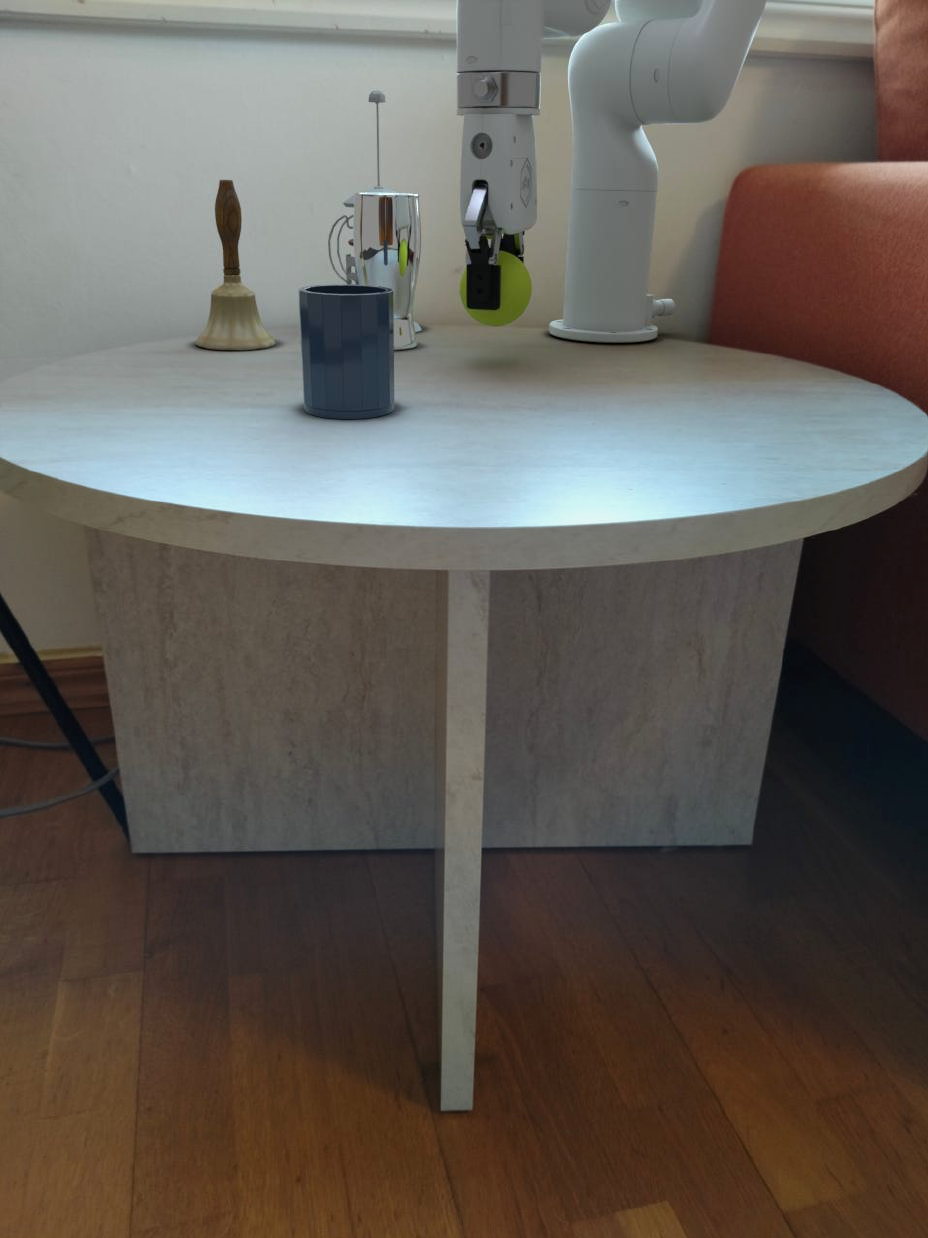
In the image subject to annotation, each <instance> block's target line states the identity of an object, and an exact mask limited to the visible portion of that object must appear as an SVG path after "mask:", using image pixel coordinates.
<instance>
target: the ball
mask: <svg viewBox="0 0 928 1238" xmlns="http://www.w3.org/2000/svg"><path fill="white" fill-rule="evenodd" d="M497 265H501V294H500V308H499V309H497V310H478V309H469V308H468V307H467V305H466V267H465V268H464V269H463V272H462V275H461V278H460V281H459V282H460V283H459V296H460V301H461V302H462V305H463V307H464V309H465V311H466V313H468V315H469V316H470V317H471V318H472V319H474V320H475V321H477V322H478V323H480V324H482V325H485V326H489V327H503V326H506V325H509V324H511V323H513V322H515V321H516V320H518V319H519V318H520V317H521V316H522V315H523V314H524V312H525V311H526V310H527V308H528V305H530V304H529V303H530V301H531V297H532V292H533V285H532V284H533V283H532V278H531V275H530V273H529V270H528V268H527V267H526V265H525V263H524V264H523V263H522V262H521V261H520V260H519V259H518V258H517V257H516V256H514V255H512V254H510V253H508V252H505V251H499V254H498V260H497Z"/></svg>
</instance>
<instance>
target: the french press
mask: <svg viewBox="0 0 928 1238" xmlns="http://www.w3.org/2000/svg"><path fill="white" fill-rule="evenodd" d="M368 102H369V103H374V104H375V105H376V155H377V156H376V163H377V164H376V165H377V166H376V167H377V169H376V170H377V185H376V186H375V185H374V186H373V188H368V189H364V190H360V191H357V193H398V191H394V190H391V189H387V188H384V187H383V186H382V185H381V184H380V183H381V182H380V125H379V123H380V122H379V118H380V117H379V116H380V115H379V104H381V103H386V102H387V101H386V95H385V93H384V92H383V91H382V90H379V89H375V90H372V91H371V92H370V93H369V95H368ZM342 205H343V206H344V207H345V208H352V209H354V194H353V195H351V196H350V197H349V198H347V199H346V200H344V201H343V202H342ZM353 217H354V214H351V215H349V217H348V216H347V215H346V214H343V215H342V216H340V217H339V218H337V219H336V221H334V223H333V225H332V226H331V229H330V231H329V234H328V239H327V240H328V242H327V247H328V249H327V250H328V258H329V261H330V265H331V267H332V270H333V271H334V273H335V274H336V275H337V277H338V278H339V279H341V280H342V281H343V282H345V283H346V284H350V285H359V279H358V274H357V268H356V262H355V256H352V253H348V254H345V267H344V265H343V261H342V258H341V253H340V237H341V233H342V230H343V229H344V228H343V227H344V226H345V225H346V227H347V228H348V229H349V230H353V225H350V224H349V223H350V220H351V219H353ZM344 218H345V220H344V221H343V222H342V223H341V225H340V228H339V230H338V233H337V237H336V254H337V258H338V261H339V265H340V267H341V270H342V271H343V272H344V274H345V277H346V279H345V278H344V277H343V276H342V275H341V274H340V273H339V272H338V271H337V269H336V267H335V265H334V262H333V258H332V250H331V248H332V247H331V239H332V235H333V233H334V230H335V227H336V226H337V224H338V223H339V222H340V221H341V220H343V219H344ZM347 243H348V245H349V246H352V247H354V243H353V238H351V239H349V240H348V241H347ZM352 267H353V268H354V272H352ZM353 282H354V284H353ZM414 328H415V333H418V332H420V331H422V327H421V326H420V324H419V323H418V322H417V321H414Z"/></svg>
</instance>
